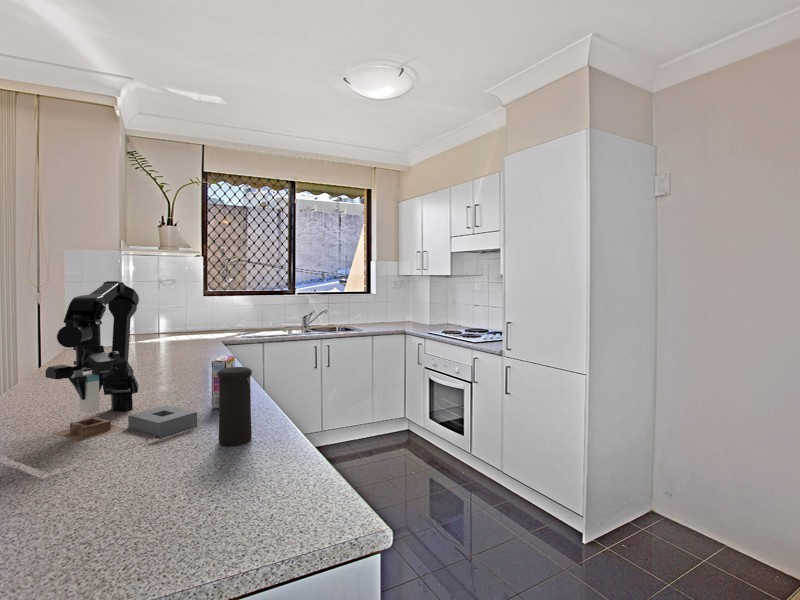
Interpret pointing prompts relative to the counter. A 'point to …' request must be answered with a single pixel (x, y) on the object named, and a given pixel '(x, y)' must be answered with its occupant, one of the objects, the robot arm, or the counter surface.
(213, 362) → the candy bar box
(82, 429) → the holster
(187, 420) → the socket block
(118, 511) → the counter surface
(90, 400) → the plug
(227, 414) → the container
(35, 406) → the counter surface
